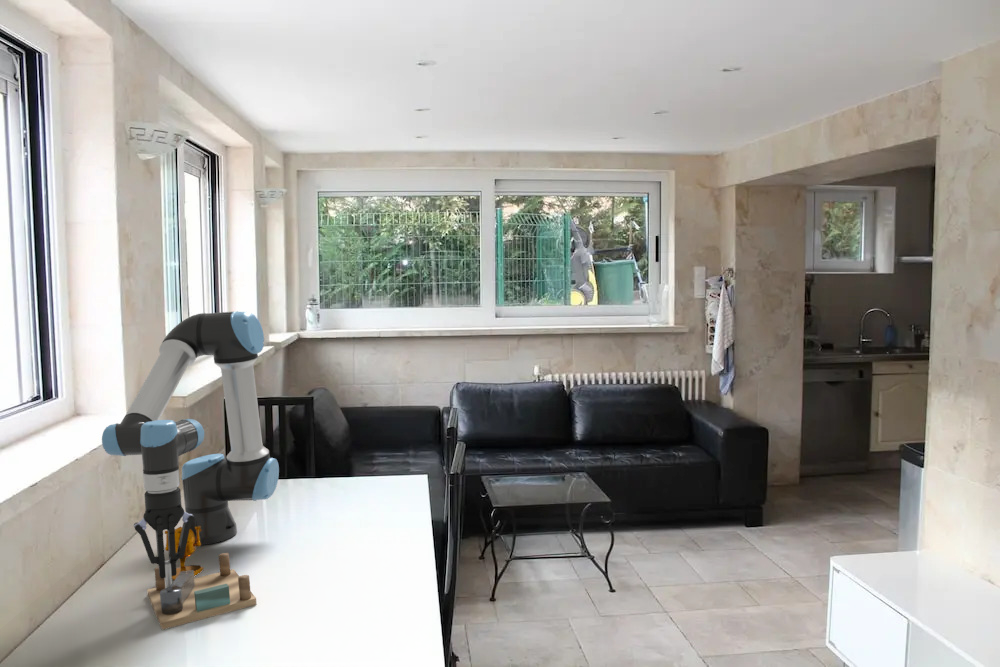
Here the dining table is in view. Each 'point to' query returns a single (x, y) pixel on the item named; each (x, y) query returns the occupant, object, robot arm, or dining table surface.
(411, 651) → the dining table surface
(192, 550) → the figurine
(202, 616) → the board
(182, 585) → the leg
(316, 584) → the dining table surface
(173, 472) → the robot arm
